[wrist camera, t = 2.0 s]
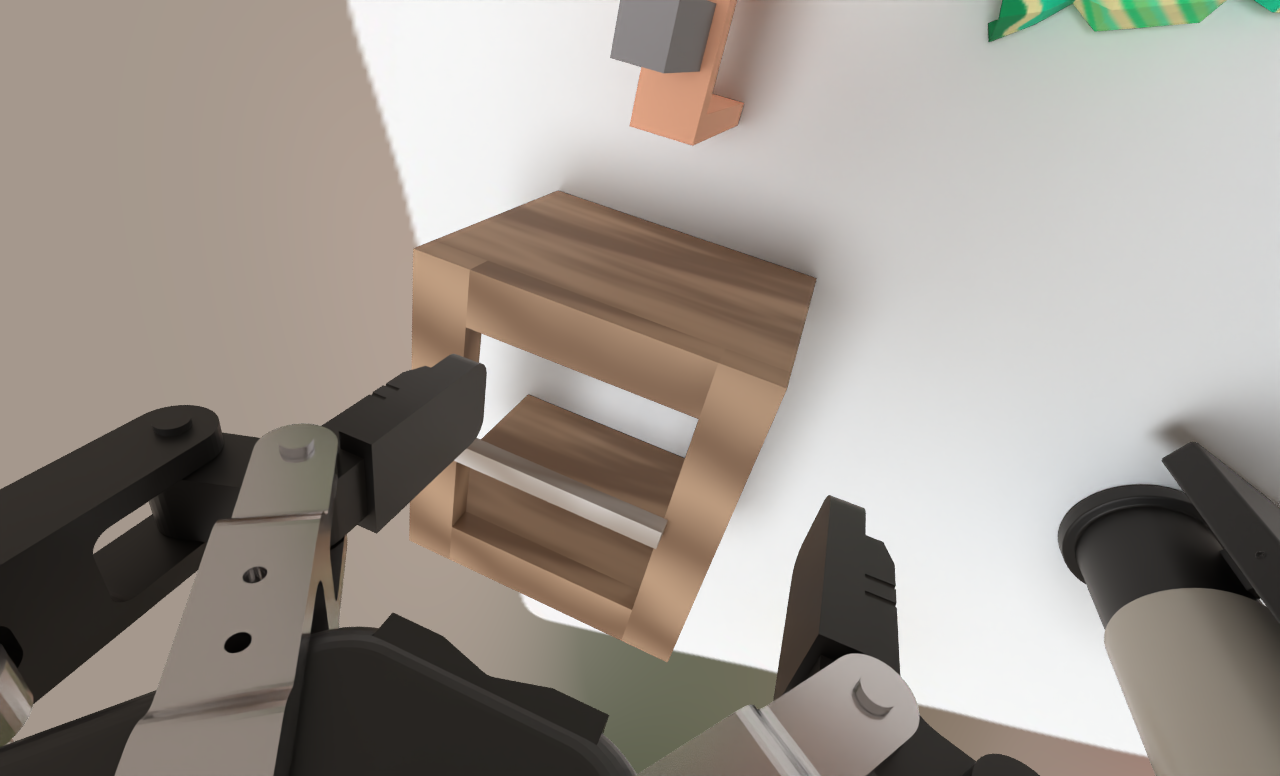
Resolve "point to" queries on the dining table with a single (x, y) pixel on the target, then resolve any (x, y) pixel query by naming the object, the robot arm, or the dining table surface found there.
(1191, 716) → the light fixture
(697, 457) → the wooden frame stand
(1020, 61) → the dining table surface
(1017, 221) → the dining table surface
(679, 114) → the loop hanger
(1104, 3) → the candy
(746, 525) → the dining table surface
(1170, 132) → the dining table surface
